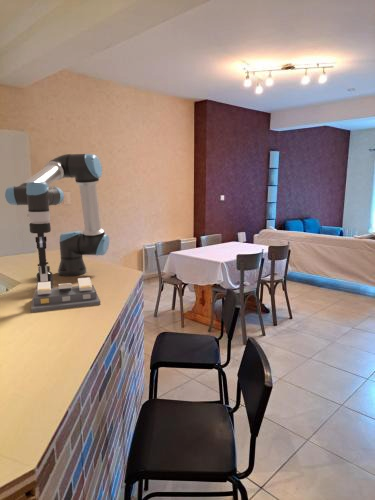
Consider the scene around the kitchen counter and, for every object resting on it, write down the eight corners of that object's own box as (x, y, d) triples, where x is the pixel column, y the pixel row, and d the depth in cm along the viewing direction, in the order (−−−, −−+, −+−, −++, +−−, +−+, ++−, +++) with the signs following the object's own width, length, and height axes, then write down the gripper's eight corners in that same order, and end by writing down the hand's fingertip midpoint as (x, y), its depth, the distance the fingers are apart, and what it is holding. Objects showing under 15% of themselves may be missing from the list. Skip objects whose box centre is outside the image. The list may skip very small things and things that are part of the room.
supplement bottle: (36, 294, 156) (34, 268, 154) (38, 290, 163) (36, 265, 160) (52, 293, 158) (51, 267, 156) (54, 289, 164) (52, 264, 162)
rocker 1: (38, 286, 146) (37, 282, 146) (50, 284, 148) (50, 281, 148) (37, 294, 138) (37, 290, 138) (51, 293, 140) (50, 289, 140)
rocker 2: (58, 287, 149) (58, 283, 149) (70, 286, 151) (70, 282, 151) (58, 289, 141) (58, 284, 141) (71, 287, 143) (71, 283, 143)
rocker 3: (77, 281, 152) (77, 278, 151) (89, 280, 154) (89, 277, 153) (79, 291, 144) (79, 287, 144) (92, 290, 146) (92, 286, 146)
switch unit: (32, 300, 148) (31, 287, 147) (95, 293, 158) (95, 282, 157) (31, 312, 134) (30, 298, 133) (100, 304, 143) (100, 291, 142)
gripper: (29, 220, 140) (34, 277, 145) (28, 224, 128) (33, 286, 133) (49, 220, 143) (53, 276, 147) (50, 223, 131) (54, 284, 136)
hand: (44, 280), depth 140 cm, fingers closed
